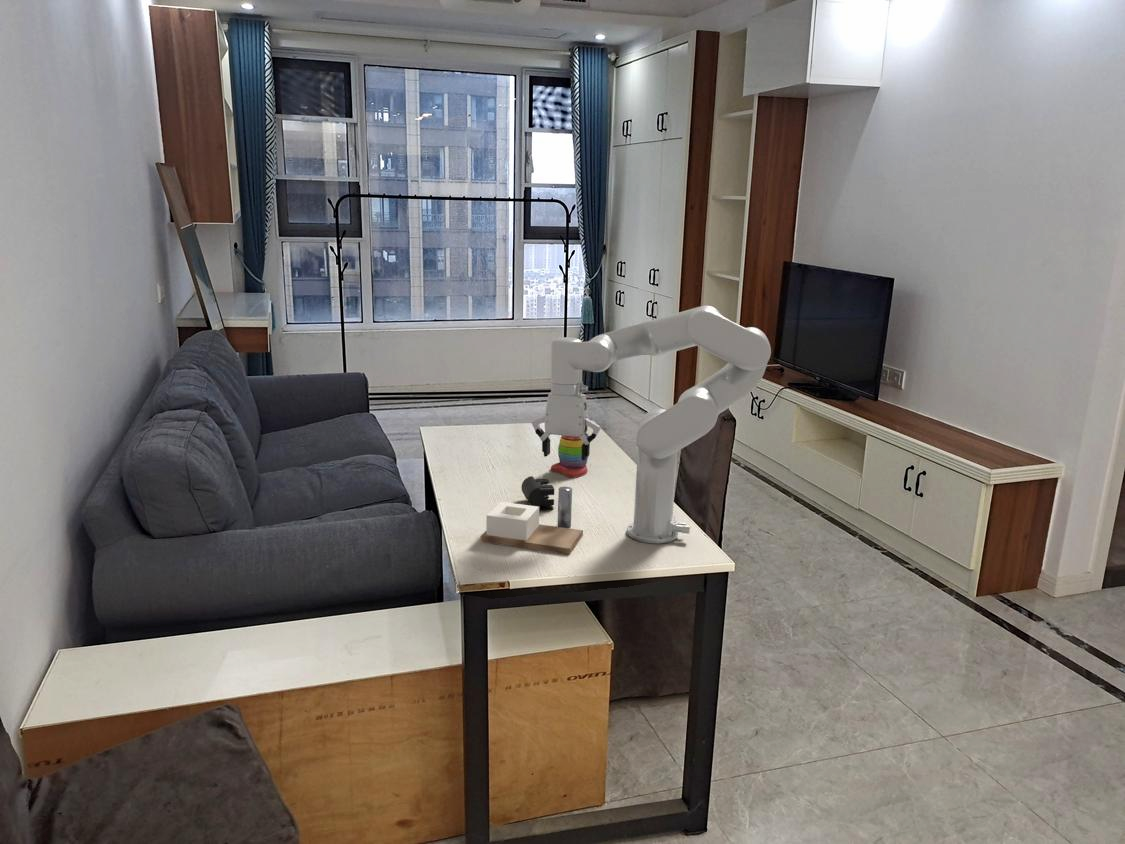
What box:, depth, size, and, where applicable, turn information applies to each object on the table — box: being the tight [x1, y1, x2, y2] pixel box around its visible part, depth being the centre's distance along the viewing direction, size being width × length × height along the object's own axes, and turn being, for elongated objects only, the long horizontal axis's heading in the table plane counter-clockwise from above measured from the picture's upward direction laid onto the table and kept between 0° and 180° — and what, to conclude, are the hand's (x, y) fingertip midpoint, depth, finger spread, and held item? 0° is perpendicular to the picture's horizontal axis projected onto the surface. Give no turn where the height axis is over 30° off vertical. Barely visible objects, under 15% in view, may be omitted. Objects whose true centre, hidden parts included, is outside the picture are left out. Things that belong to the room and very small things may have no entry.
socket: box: [485, 501, 540, 541], centre depth 201 cm, size 10×10×5 cm
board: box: [480, 523, 584, 555], centre depth 201 cm, size 22×12×2 cm, turn 74°
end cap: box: [521, 475, 555, 512], centre depth 223 cm, size 10×7×7 cm
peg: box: [556, 486, 573, 529], centre depth 208 cm, size 3×3×10 cm
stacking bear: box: [550, 435, 589, 479], centre depth 251 cm, size 11×10×18 cm
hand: (565, 457), depth 205 cm, fingers open, 9 cm apart
